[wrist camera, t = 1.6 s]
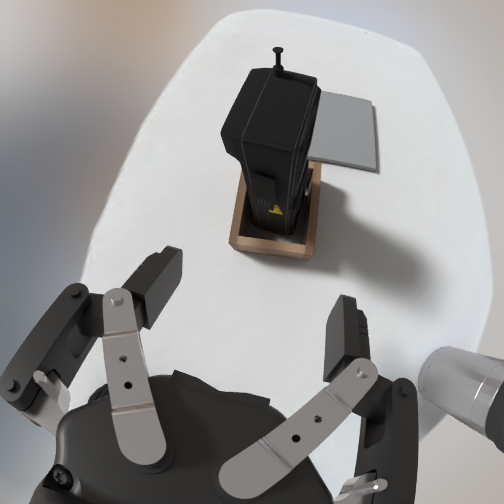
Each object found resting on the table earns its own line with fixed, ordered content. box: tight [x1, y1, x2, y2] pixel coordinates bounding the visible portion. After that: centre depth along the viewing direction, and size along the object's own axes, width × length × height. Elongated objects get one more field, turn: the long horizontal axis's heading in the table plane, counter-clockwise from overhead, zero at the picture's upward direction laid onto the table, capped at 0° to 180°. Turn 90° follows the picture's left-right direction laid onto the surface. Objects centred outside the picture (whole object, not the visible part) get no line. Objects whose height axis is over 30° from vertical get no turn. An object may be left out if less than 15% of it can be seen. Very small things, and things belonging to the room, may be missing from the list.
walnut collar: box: [229, 161, 322, 260], centre depth 35 cm, size 10×12×5 cm
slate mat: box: [307, 91, 376, 171], centre depth 39 cm, size 16×14×1 cm
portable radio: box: [220, 47, 321, 236], centre depth 25 cm, size 8×6×25 cm
